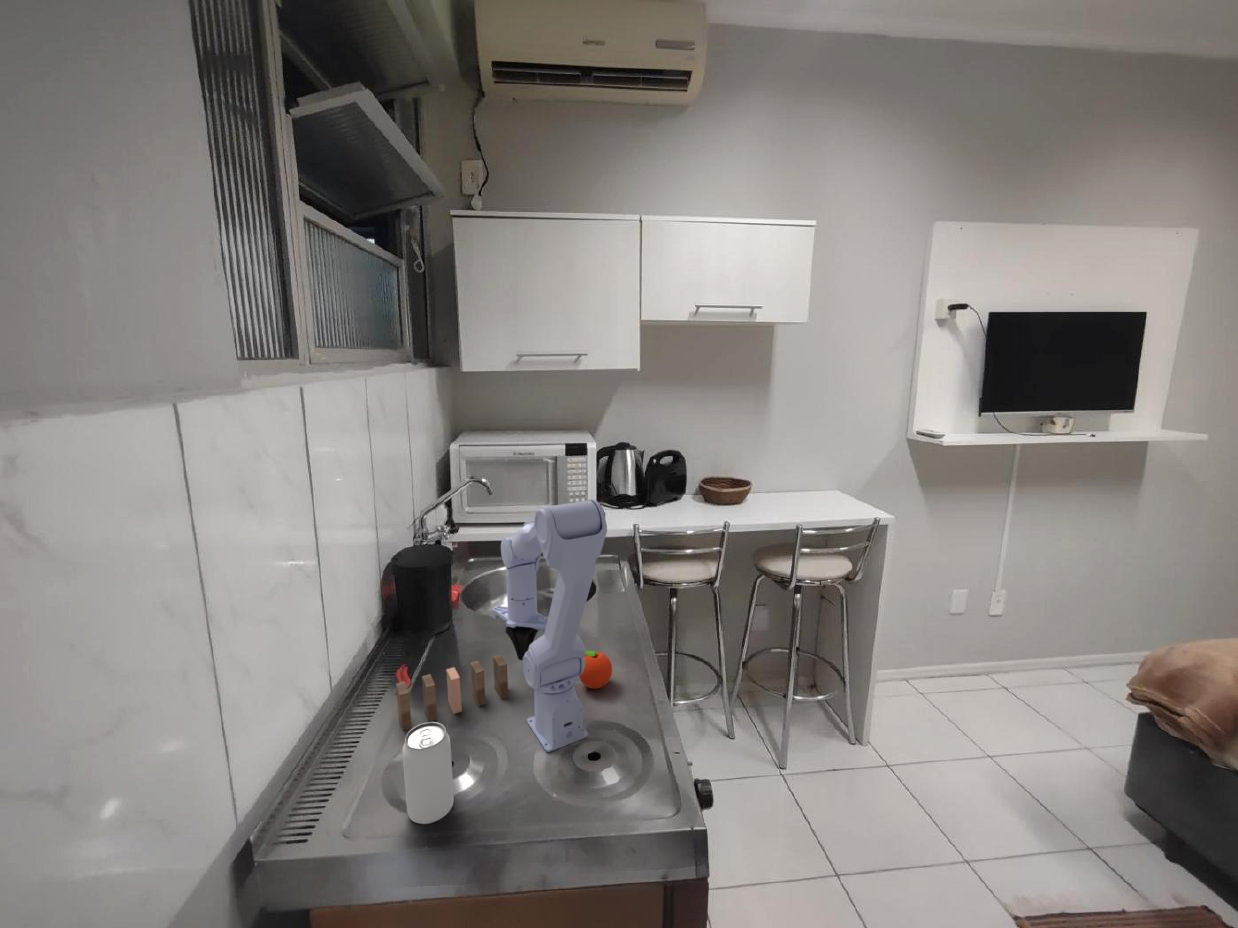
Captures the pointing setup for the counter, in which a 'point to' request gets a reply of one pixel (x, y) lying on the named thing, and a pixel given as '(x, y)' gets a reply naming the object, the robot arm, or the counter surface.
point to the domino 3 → (454, 690)
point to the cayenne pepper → (403, 675)
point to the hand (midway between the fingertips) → (524, 657)
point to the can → (428, 773)
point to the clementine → (596, 670)
